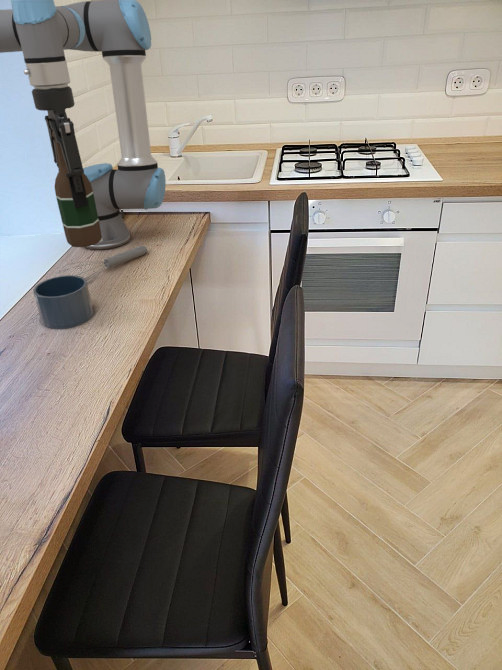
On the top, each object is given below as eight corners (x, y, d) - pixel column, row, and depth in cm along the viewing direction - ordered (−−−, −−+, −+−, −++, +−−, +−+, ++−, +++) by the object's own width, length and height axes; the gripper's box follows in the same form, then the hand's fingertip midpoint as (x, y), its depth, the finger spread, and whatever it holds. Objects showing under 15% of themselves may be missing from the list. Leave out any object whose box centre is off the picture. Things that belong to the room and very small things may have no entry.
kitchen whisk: (157, 252, 157) (154, 232, 154) (66, 298, 133) (60, 275, 130) (142, 249, 160) (139, 229, 157) (51, 293, 137) (45, 271, 133)
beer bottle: (84, 250, 114) (58, 134, 102) (59, 244, 118) (32, 132, 106) (109, 238, 120) (88, 127, 108) (85, 233, 124) (62, 125, 111)
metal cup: (59, 303, 131) (51, 273, 127) (102, 306, 128) (95, 276, 124) (31, 326, 121) (22, 295, 117) (77, 330, 118) (69, 299, 114)
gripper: (21, 85, 109) (48, 194, 120) (42, 92, 93) (70, 217, 105) (58, 81, 112) (80, 189, 123) (84, 88, 96) (107, 210, 108)
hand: (76, 201), depth 114 cm, fingers closed on beer bottle, 7 cm apart
